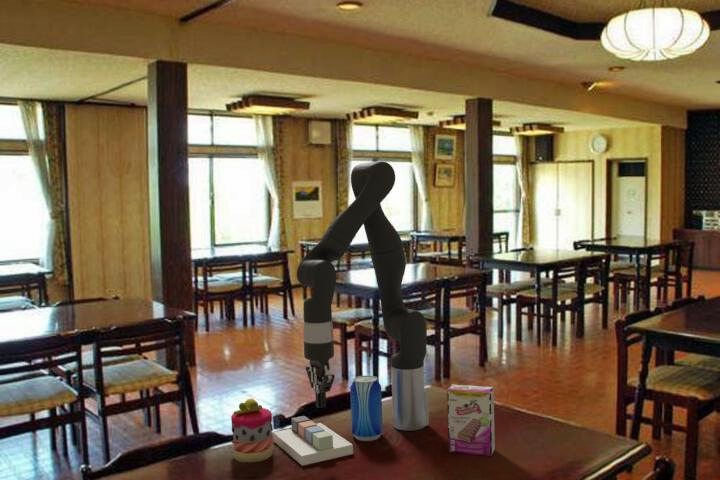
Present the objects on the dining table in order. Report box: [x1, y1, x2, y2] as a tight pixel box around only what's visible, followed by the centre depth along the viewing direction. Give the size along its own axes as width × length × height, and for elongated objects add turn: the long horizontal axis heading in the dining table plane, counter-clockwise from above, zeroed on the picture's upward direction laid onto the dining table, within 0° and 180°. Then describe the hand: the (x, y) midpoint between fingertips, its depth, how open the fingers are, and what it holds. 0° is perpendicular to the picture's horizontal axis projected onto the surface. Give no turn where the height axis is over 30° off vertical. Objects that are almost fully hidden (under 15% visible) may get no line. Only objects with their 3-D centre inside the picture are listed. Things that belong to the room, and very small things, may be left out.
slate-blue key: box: [305, 426, 325, 445], centre depth 176 cm, size 4×4×4 cm
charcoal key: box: [291, 415, 311, 434], centre depth 184 cm, size 4×4×4 cm
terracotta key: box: [298, 420, 317, 440], centre depth 180 cm, size 4×4×4 cm
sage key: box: [313, 431, 333, 451], centre depth 171 cm, size 4×4×4 cm
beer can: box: [349, 375, 384, 442], centre depth 184 cm, size 8×8×16 cm
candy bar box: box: [446, 384, 496, 457], centre depth 170 cm, size 11×5×16 cm, turn 71°
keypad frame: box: [272, 422, 354, 466], centre depth 178 cm, size 14×20×2 cm
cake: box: [230, 398, 275, 463], centre depth 174 cm, size 10×11×15 cm
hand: (321, 406), depth 171 cm, fingers closed
